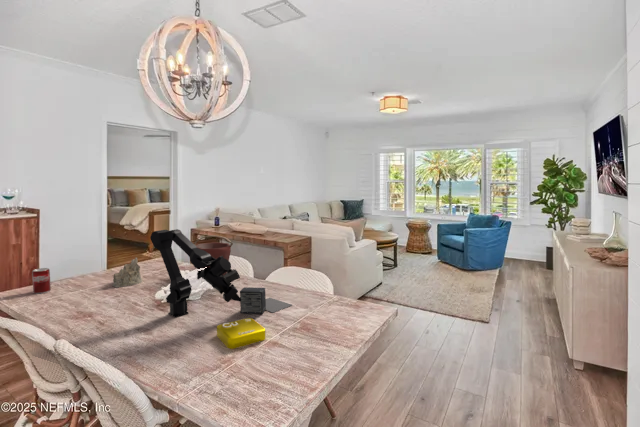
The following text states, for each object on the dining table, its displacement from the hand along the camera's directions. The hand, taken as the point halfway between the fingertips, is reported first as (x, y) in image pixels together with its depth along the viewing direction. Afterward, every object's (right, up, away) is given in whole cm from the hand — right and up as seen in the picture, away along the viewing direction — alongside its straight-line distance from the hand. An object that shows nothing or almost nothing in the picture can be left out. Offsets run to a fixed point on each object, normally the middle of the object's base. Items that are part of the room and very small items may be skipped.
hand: (240, 300), depth 156 cm
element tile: (+5, -10, -20) cm, 23 cm away
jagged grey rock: (-77, -2, +49) cm, 91 cm away
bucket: (-33, 0, +68) cm, 75 cm away
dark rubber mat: (+11, -6, +15) cm, 20 cm away
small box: (+4, -7, +6) cm, 10 cm away
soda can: (-112, -3, +30) cm, 116 cm away
